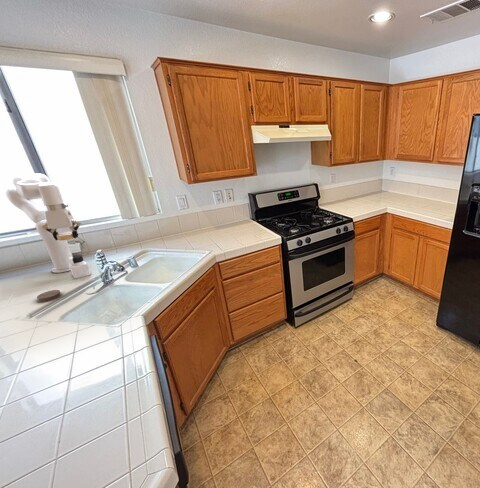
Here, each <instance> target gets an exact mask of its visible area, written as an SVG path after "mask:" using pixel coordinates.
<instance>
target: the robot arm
mask: <svg viewBox="0 0 480 488" xmlns="http://www.w3.org/2000/svg"><path fill="white" fill-rule="evenodd" d="M12 182H13V185H14V186H12V187H10V188H7V189H6V191H5V196H6V198H7V199H8V201H9V202H10V203H11V204H12V205H13V206H14V207H16V208H17V209H19V210H20V211H22V212H24V213H25V214H26V216H27V217H28V218H29V219H30V220H31V221H32V222H33V223H34V224H35V229H36V231H37V232H38V234H39V236H40V237H41V239H42V241H43V243H44V245H45V248H46V250H47V253H48V255H49V257H50V260H51V262H52V265H53V268H52V269H51V272H52V273H54V274H58V273H59V274H60V273H66V272H71V270H70V267H69V264H70V262H69V260H68V259H69V258H70V257H72V256H74V255H73V253H72V250H71V248H70V245H69V242H68V240H58V239H57V236H56V235H57V234H60V233H65V232H72V234H73V237H74V238H73V239H77V238H78V237H79V233H78V230H79V228H80V226H81V225H82V222H80V221H77V220H75V218H74V216H73V214H72V213H71V211H70V210H69V204H66V203H64V200H63V197H62V194H61V192H60V189H59V186H58V185H57V184H55V183H54V182H51V180H50V179H49V177H48V176H47V175H45V174H43V173H30V174H19V175H16V176H15V177H14V178H13V179H12ZM40 199H41V200H42V202H43V205H42V204H41V203H39V202H37V201H35V200H40Z"/></svg>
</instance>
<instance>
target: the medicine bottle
mask: <svg viewBox="0 0 480 488" xmlns="http://www.w3.org/2000/svg"><path fill="white" fill-rule="evenodd" d="M68 260H69V262H70V264H69V267H70V272H71V275H72V276H73V278H74V279H75V280H76V279H80V278H84V277H86V276H91V271H90V268H89V266H88V263H87V262H86V261H85V260H84V258H83V255H80V254H75V255H73V256H72V257H70V258H69V259H68Z"/></svg>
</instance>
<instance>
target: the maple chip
mask: <svg viewBox="0 0 480 488" xmlns="http://www.w3.org/2000/svg"><path fill="white" fill-rule="evenodd" d="M56 236H57V239H58V240H67V241H68V240H72V239H75V238H74V237H73V234H72V231H71V232H65V233H60V234H57V235H56Z"/></svg>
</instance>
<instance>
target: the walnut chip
mask: <svg viewBox="0 0 480 488" xmlns="http://www.w3.org/2000/svg"><path fill="white" fill-rule="evenodd" d="M61 296H62V292H61V290H60V289H51V290H47V291H44V292H42V293H40V294H38V295H37V296H36V299H37V301H38V302H39V303H46V302H50V301H53V300H57V299H58V298H60V297H61Z"/></svg>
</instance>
